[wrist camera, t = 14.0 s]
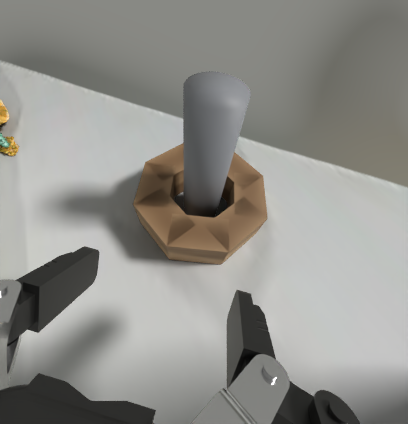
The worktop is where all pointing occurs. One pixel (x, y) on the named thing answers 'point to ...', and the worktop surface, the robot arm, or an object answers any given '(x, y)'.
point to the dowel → (210, 137)
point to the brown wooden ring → (197, 225)
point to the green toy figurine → (7, 143)
